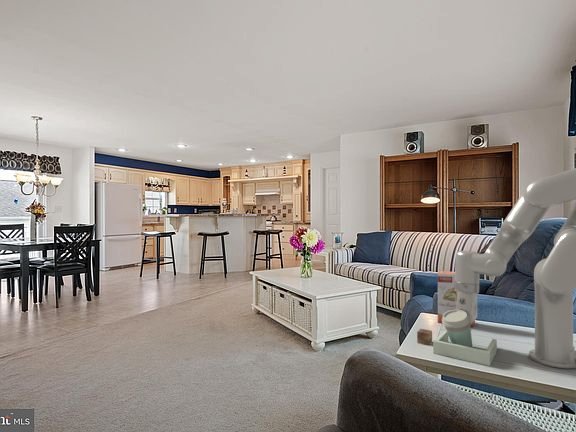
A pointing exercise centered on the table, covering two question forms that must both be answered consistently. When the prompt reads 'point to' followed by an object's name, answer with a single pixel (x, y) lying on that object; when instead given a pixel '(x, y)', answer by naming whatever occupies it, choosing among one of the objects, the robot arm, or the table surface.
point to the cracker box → (446, 293)
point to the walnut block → (424, 336)
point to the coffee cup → (458, 327)
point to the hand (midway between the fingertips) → (464, 339)
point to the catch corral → (464, 350)
